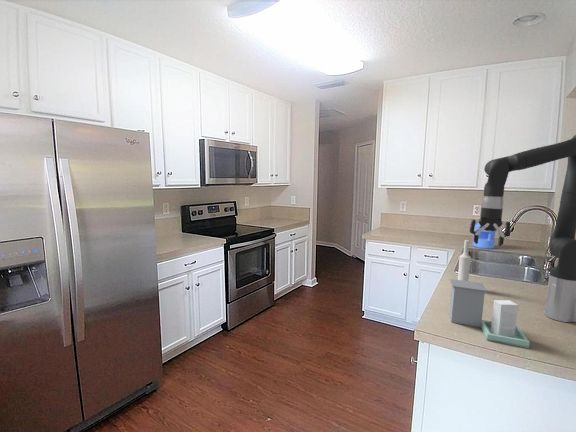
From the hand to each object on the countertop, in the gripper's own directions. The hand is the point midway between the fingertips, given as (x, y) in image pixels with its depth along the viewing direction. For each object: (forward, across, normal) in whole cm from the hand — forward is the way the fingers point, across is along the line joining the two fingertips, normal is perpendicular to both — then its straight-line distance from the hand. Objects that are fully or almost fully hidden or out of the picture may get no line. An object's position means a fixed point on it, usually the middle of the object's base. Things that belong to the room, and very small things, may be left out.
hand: (487, 244), depth 130 cm
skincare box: (+28, +2, -26) cm, 38 cm away
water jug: (+28, +28, +145) cm, 150 cm away
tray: (+28, +2, -26) cm, 38 cm away
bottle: (+28, -4, +24) cm, 37 cm away
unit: (+28, -9, -18) cm, 35 cm away
